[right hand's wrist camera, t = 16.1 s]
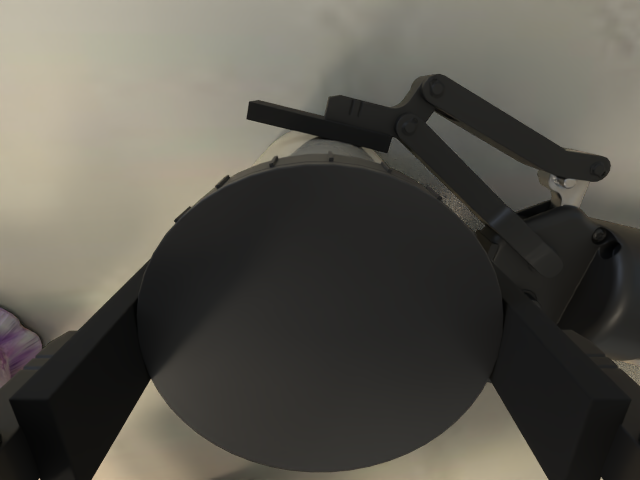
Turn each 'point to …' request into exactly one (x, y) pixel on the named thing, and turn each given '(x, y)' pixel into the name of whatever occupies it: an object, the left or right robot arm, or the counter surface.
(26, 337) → the figurine
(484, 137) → the left robot arm
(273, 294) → the lid
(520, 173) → the counter surface
